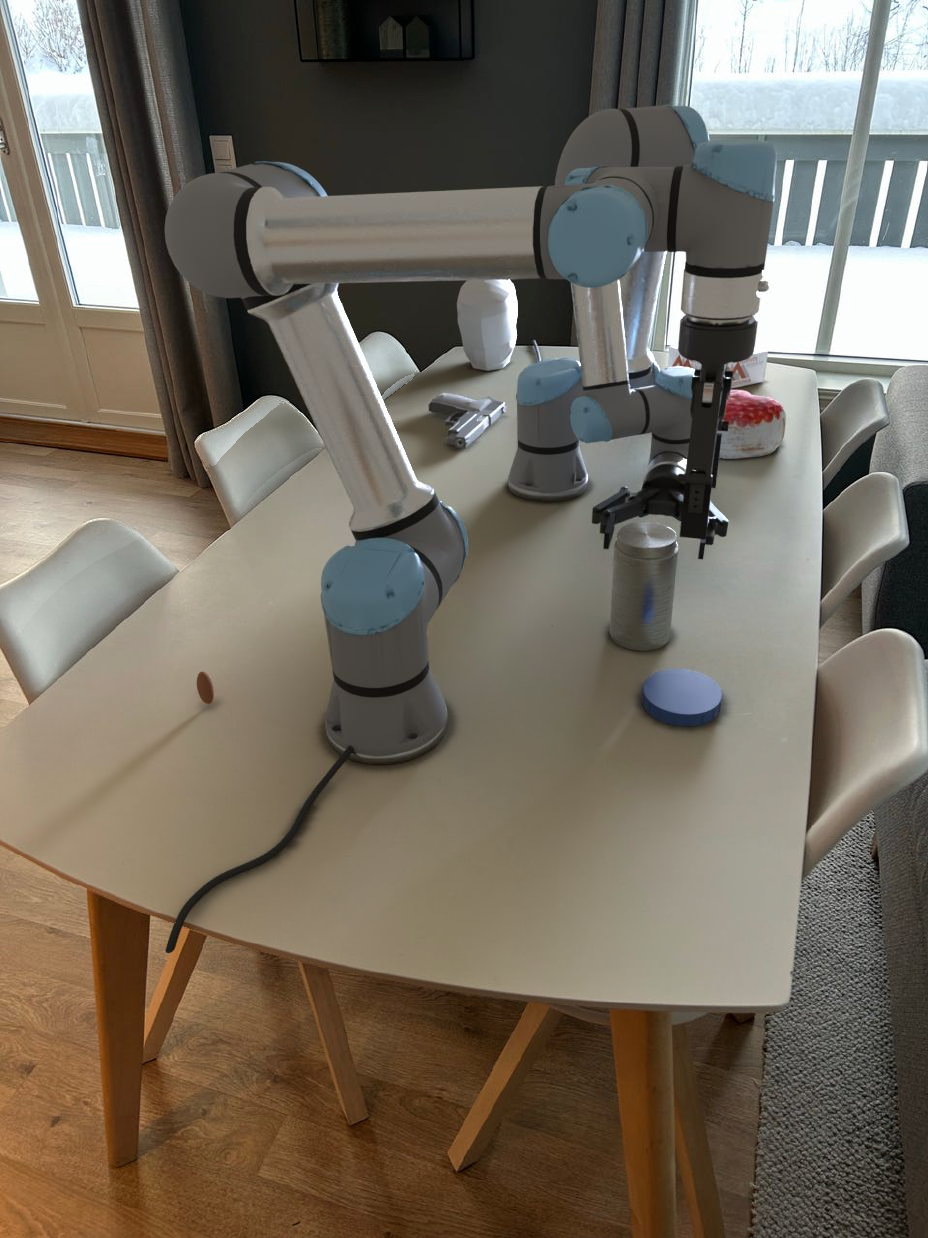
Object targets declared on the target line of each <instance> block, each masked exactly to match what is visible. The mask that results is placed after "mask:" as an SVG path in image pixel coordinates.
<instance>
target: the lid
mask: <svg viewBox="0 0 928 1238" xmlns="http://www.w3.org/2000/svg"><path fill="white" fill-rule="evenodd" d="M722 698H723V693H722V689H721V687H720V685H719V684H718V683H717V682H716V681H715V680H714V679H713V678H712V677H710V676H708V675H706V674H704V673H702V672H698V671H696V670H691V669H685V668H668V669H667V668H666V669H662V670H659V671H657V672H654V673H652V674H651V675H649V676H648V677H647V678H646V679H645V680H644V683H643V686H642V689H641V702H642V706H643V708H644V709H645V711H646V712H647V713H648V714H649V715H650V716H652V717H653V718H654V719H656V720H658V721H660V722H663V723H666V724H668V725H672V726H677V727H695V726H701V725H705V724H707V723H710V722H711V721H714V719H716V717H717V716H718V715H719V713H720V712H721V708H722V700H723V699H722Z"/></svg>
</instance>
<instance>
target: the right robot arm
mask: <svg viewBox="0 0 928 1238" xmlns="http://www.w3.org/2000/svg"><path fill="white" fill-rule="evenodd" d="M707 141H710V136H709V132H708V130H707V126H706V123H705V121H704V119H703V117H702V116H701V114H700V113H699V112H698V111H697V110H696V109H695V108H693V107H692V106H689V105H671V104H668V103H667V104H662V105H653V106H652V105H651V106H650V105H649V106H641V107H638V106H637V107H629V108H627V107H626V108H606V109H605V108H604V109H602V110H599V111H596V112H594V113H592V114H591V115H589V116H588V117H586V118H585V119H584V120H583V121H582V122H581V123H580V124H579V125H578V126H577V127H576V128H575V129H574V131H573V132H572V133H571V135H570V136H569V138H568V140H567V142H566V144H565V146H564V147H563V150H562V152H561V155H560V158H559V161H558V164H557V167H556V174H555V179H554V186H555V185H565V181H566V178H567V176H568V175H569V173H570V172H572V171H573V170H575V169H579V168H593V167H599V166H601V165H602V166H604V165H607V166H608V167H676V166H684V165H692V159H693V158H694V154H695V149H696V147H697V146H698V145H699V144H700V143H703V142H707ZM666 255H667V252H643V253H642V254H641V256H640V259H639V260H638V262H637V263H636V264H635V265H634V267H633V268H632V269H630V270H629V271H628V272H627V273H626V274H625V275H624V276H623V277H621V278H620V279H618V280H616V281H614V282H612V283H610V284H608V285H605V286H602V287H596V288H586V287H581V286H578V285H576V284H573V283H571V282H570V289H571V295H572V296H571V297H572V305H573V313H574V314H573V315H574V323H575V332H576V338H577V339H576V340H577V348H578V357H579V361H578V360H576V359H573V358H568V357H561V358H558V359H557V358H556V357H554V358H548V359H544V360H542V359H541V353H540V350H539V346H538V344H537V342H536V340H535V339H533V340H532V345H533V347H534V350H535V351H534V352H535V353H536V359H537V361H536V362H534V363H532V364H530V365H528V366H526V367H525V368H524V369H523V370H521V372H520V373H519V374H518V377H517V385H516V386H517V387H516V393H515V400H516V424H517V425H516V426H517V427H516V429H517V430H516V431H517V437H516V438H517V446H516V447H517V448H516V451H515V455H514V458H513V460H512V464H511V466H510V470H509V474H508V477H507V478H508V490H509V491H510V492H511V493H512V494H514V495H515V496H517V497H519V498H522V499H525V500H528V501H529V500H531V501H534V502H535V501H537V502H559V501H566V500H570V499H573V498H576V497H578V496H580V495H582V494H583V493H585V492H586V491H587V489H588V487H589V485H588V484H589V475H588V472H587V468H586V465H585V462H584V459H583V456H582V452H581V448H580V442H581V443H584V444H592V443H601V442H604V443H607V442H610V441H614V440H618V439H623V438H629V437H633V436H640V435H647V434H651V441H650V453H649V459H648V465H647V468H646V470H645V473H644V479H643V482H642V485H641V489H640V490H638V492H632V491H630V490H629V487H628V486H621V487H620V489H619V491H618V492H616V493H614V494H613V495H611V496H609V497H608V498H606V499H604V500H603V501H601V502H600V503H597V504H596V505H595V506H593V507H592V511H591V523H592V525H599V533H600V534H602V535H603V546H602V549H603V550H609V549H610V546H611V542H612V539H613V535H614V532H615V529H616V528H615V527H616V525H619V524H621V523H624V522H626V521H630V520H632V519H634V518H636V517H638V518H640V519H641V518H645V517H647V516H650V515H651V516H652V515H653V516H664V517H672V518H674V519H675V520H676V521H677V522H679V523H681V516H682V505H683V495H684V484H685V482H682V481H678V476H679V473H680V474H685V473H686V465H687V457H688V449H689V441H690V433H691V425H692V418H691V415H690V409H691V401H692V393H691V384H692V377H693V376H694V371H695V370H694V369H691V368H686V367H669V368H667V367H665V368H664V369H660V367H659V365H658V364H657V362H656V361H655V357H654V355H653V353H652V352H651V351H650V349H649V342H650V338H651V332H652V329H653V323H654V316H655V312H656V308H657V307H656V306H657V301H658V297H659V291H660V285H661V281H662V276H663V272H664V266H665V265H664V264H665V261H666ZM728 529H729V519H728V518H727V517H726V516H725V515H724V514H723V513H722V512H721V510H719V508H717V507H716V506H715V505H714V504H713V503H712V502H711V501H710V508H709V516H708V525H707V534H706V540H705V539H699V548H698V556H697V560H704V559H705V558H704V557H705V549H706V546H713V545H714V541H715V536H718V537H720V538H726V537H727V536H728Z"/></svg>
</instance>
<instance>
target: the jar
mask: <svg viewBox="0 0 928 1238" xmlns="http://www.w3.org/2000/svg"><path fill="white" fill-rule="evenodd" d="M615 538H616V540H615V541H614V545H613V562H612V580H611V581H612V583H611V599H610V601H611V602H610V618H609V621H610V622H609V636H610V638H611V640H612V641H613V642H614V643H615V644H616V645H618V646H620V647H622V648H624V649H628V650H632V651H641V652H643V651H654V650H657V649H659V648H663V647H664V646H665V645H666V644H667V643H669V641H670V638H671V629H672V619H673V616H672V615H673V610H674V609H673V607H674V598H675V588H676V587H675V586H676V578H677V577H676V576H677V566H678V556H679V555H678V554H679V545H678V540H677V539H678V535H677V533H676V531H675V530H674V529H672V528H671V527H669V526H667V525H665V524H663V523H662V524H661V523H658V522H650V521H640V522H633V523H632V522H631V523H628V524H626V525H623V526H622V527H620V528H619V529H618V531H617V532H616V537H615Z"/></svg>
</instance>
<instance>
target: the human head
mask: <svg viewBox="0 0 928 1238" xmlns="http://www.w3.org/2000/svg"><path fill="white" fill-rule="evenodd" d="M456 310H457V325H458V329H459V332H460V336H461V342H462V348H463V352H464V354H465V356H466V358H467V359H468V360H469V362H470V364H471V366H472V368H473V369H477V370H482V371H487V372H489V371H495V370H500V369H504V368H505V367H506V365H508V364H509V363H510V362H511V356H512V354H513V351H514V348H515V346H516V343H517V342H516V341H517V336H518V334H517V319H518V299H517V294H516V288H515V285H514V283H513V282H512V281H511V279H502V280H465V282H464V283H463V284H462V286H461V287H460V290H459V293H458V295H457V301H456Z"/></svg>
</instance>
